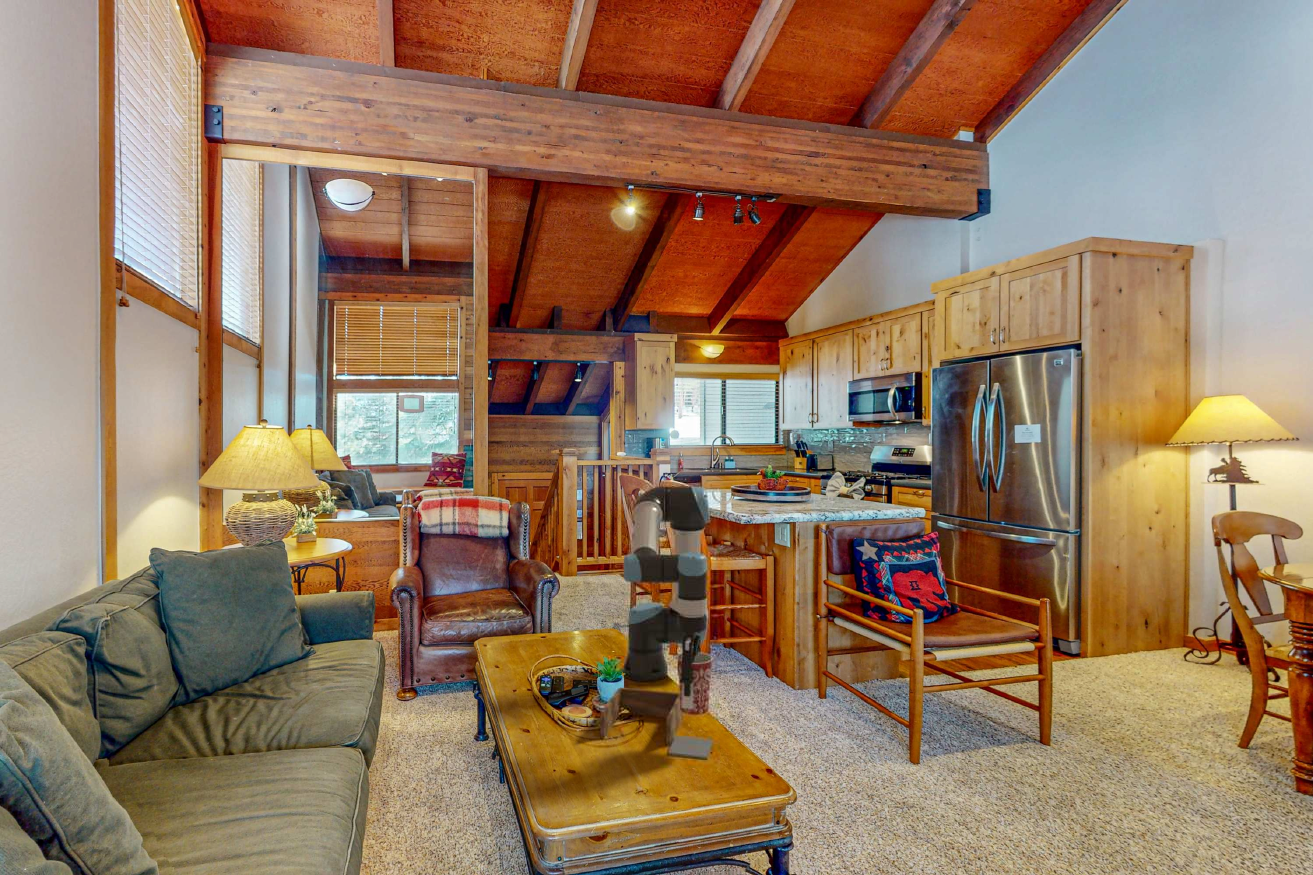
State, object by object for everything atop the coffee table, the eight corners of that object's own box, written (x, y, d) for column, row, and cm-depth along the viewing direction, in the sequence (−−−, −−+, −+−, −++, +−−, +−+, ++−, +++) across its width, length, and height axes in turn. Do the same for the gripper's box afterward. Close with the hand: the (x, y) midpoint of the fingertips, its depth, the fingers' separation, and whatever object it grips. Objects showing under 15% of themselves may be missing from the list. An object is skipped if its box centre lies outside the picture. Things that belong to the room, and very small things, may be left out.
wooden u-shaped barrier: (619, 711, 200) (619, 687, 200) (682, 717, 196) (683, 693, 196) (600, 737, 183) (600, 711, 183) (670, 745, 178) (670, 718, 178)
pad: (675, 737, 183) (675, 735, 183) (712, 741, 181) (712, 739, 181) (668, 754, 173) (668, 752, 173) (707, 759, 171) (707, 756, 171)
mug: (718, 713, 174) (719, 660, 174) (686, 718, 170) (687, 664, 170) (695, 695, 185) (696, 645, 185) (665, 700, 182) (665, 649, 181)
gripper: (685, 602, 189) (684, 683, 189) (668, 624, 167) (668, 715, 167) (712, 604, 187) (711, 685, 187) (699, 626, 165) (698, 718, 165)
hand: (691, 699), depth 177 cm, fingers closed on mug, 10 cm apart
